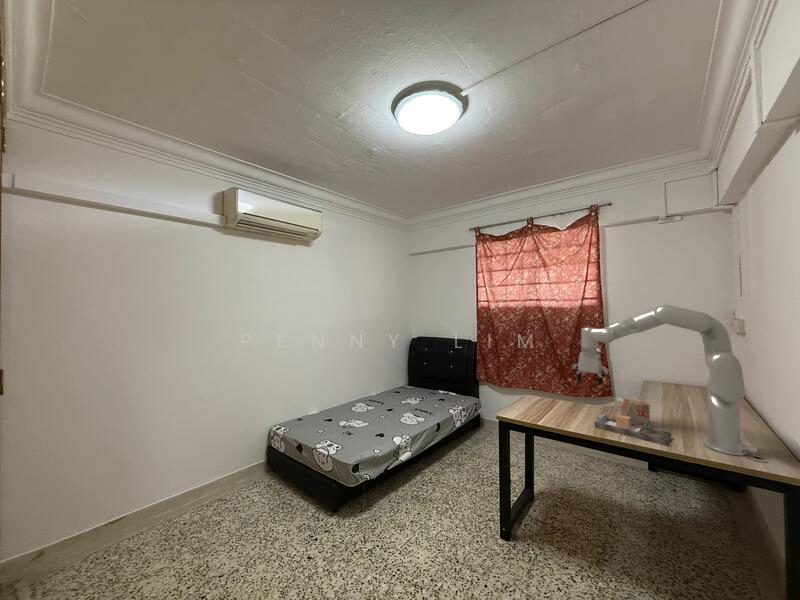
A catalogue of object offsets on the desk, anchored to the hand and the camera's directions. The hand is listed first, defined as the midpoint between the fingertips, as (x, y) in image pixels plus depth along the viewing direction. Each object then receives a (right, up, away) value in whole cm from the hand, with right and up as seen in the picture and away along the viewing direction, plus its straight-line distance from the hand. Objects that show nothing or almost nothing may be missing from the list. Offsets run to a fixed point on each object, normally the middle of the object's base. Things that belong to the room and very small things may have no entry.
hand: (589, 383), depth 164 cm
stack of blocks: (+24, -21, +3) cm, 32 cm away
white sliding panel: (+8, -19, -10) cm, 23 cm away
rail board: (+12, -20, -14) cm, 27 cm away
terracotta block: (+10, -19, -12) cm, 24 cm away
